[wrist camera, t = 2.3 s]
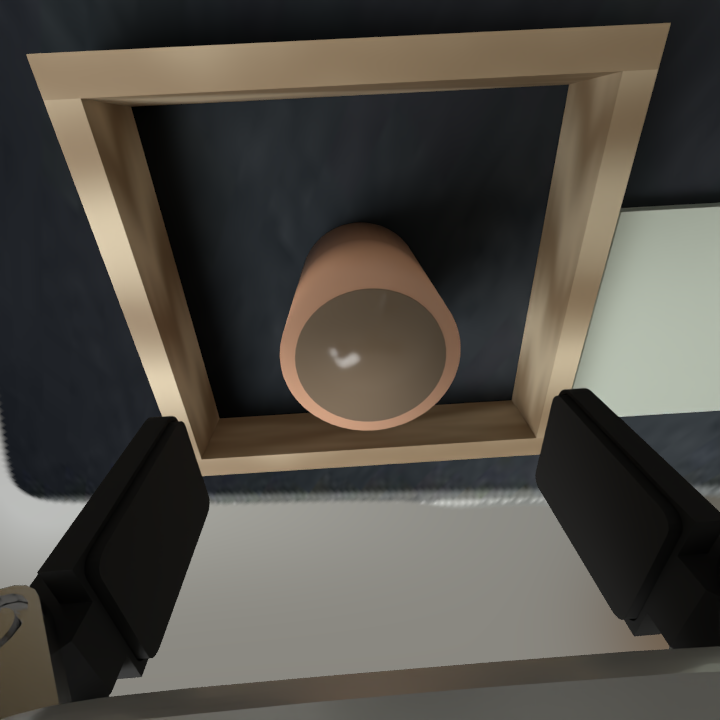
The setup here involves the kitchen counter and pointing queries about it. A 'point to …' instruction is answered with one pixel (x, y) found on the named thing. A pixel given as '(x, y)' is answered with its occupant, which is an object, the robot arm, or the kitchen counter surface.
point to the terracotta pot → (367, 332)
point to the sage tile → (657, 314)
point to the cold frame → (344, 78)
